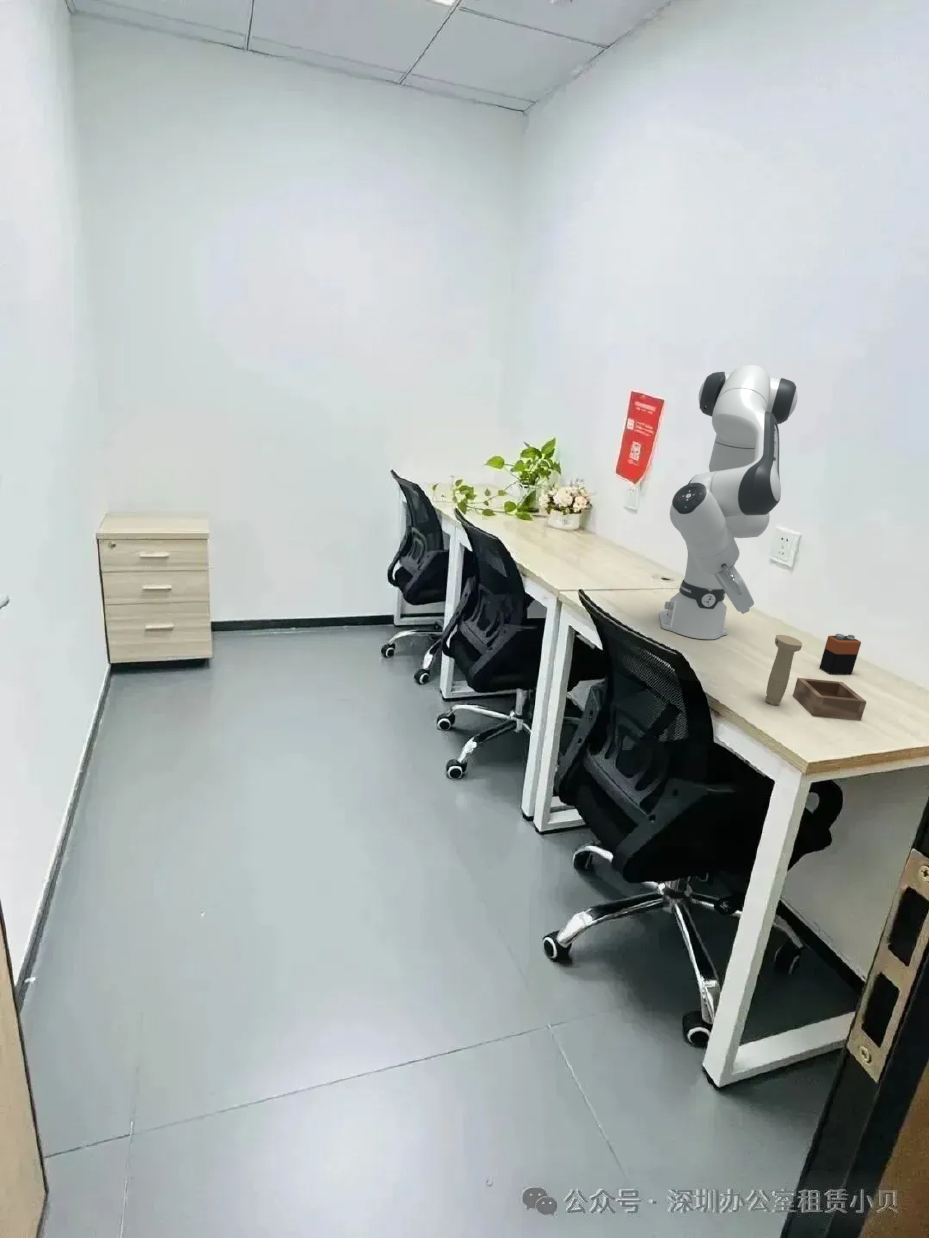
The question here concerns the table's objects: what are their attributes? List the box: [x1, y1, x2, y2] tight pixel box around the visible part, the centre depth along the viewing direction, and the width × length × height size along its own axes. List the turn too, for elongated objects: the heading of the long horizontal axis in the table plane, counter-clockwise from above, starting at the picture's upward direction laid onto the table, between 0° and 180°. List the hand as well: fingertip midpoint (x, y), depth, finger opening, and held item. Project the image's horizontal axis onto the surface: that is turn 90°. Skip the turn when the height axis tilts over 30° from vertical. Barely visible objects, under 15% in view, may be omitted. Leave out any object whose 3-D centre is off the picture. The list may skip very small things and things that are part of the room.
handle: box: [765, 634, 803, 706], centre depth 152 cm, size 5×6×15 cm
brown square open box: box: [792, 677, 867, 721], centre depth 154 cm, size 10×10×4 cm
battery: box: [819, 633, 862, 675], centre depth 176 cm, size 4×7×10 cm, turn 102°
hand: (736, 597), depth 151 cm, fingers open, 8 cm apart
